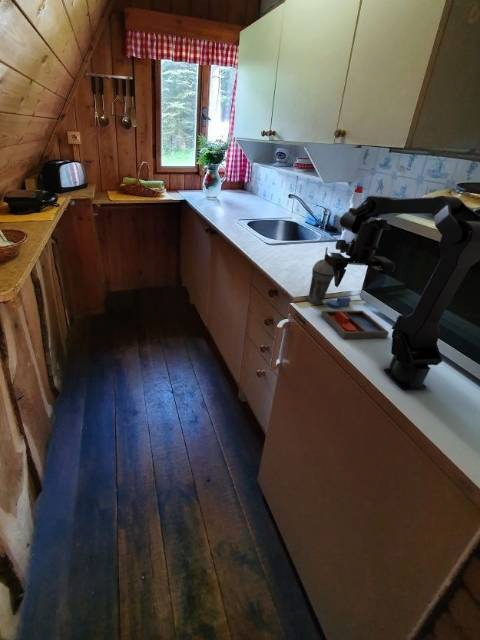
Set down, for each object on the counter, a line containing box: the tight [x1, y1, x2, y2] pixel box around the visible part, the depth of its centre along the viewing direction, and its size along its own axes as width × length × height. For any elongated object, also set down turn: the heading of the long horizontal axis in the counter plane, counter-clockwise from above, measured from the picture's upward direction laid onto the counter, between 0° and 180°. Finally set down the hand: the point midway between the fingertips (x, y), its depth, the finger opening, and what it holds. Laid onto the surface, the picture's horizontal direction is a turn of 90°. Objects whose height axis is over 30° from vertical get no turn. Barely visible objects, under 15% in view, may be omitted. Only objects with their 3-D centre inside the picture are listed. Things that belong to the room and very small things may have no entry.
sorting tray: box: [320, 310, 390, 340], centre depth 94 cm, size 12×15×2 cm
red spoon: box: [335, 310, 356, 332], centre depth 92 cm, size 8×4×3 cm, turn 10°
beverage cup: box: [308, 246, 334, 305], centre depth 103 cm, size 7×7×20 cm
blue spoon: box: [326, 296, 352, 309], centre depth 105 cm, size 8×4×3 cm, turn 100°
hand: (350, 287), depth 94 cm, fingers open, 9 cm apart
